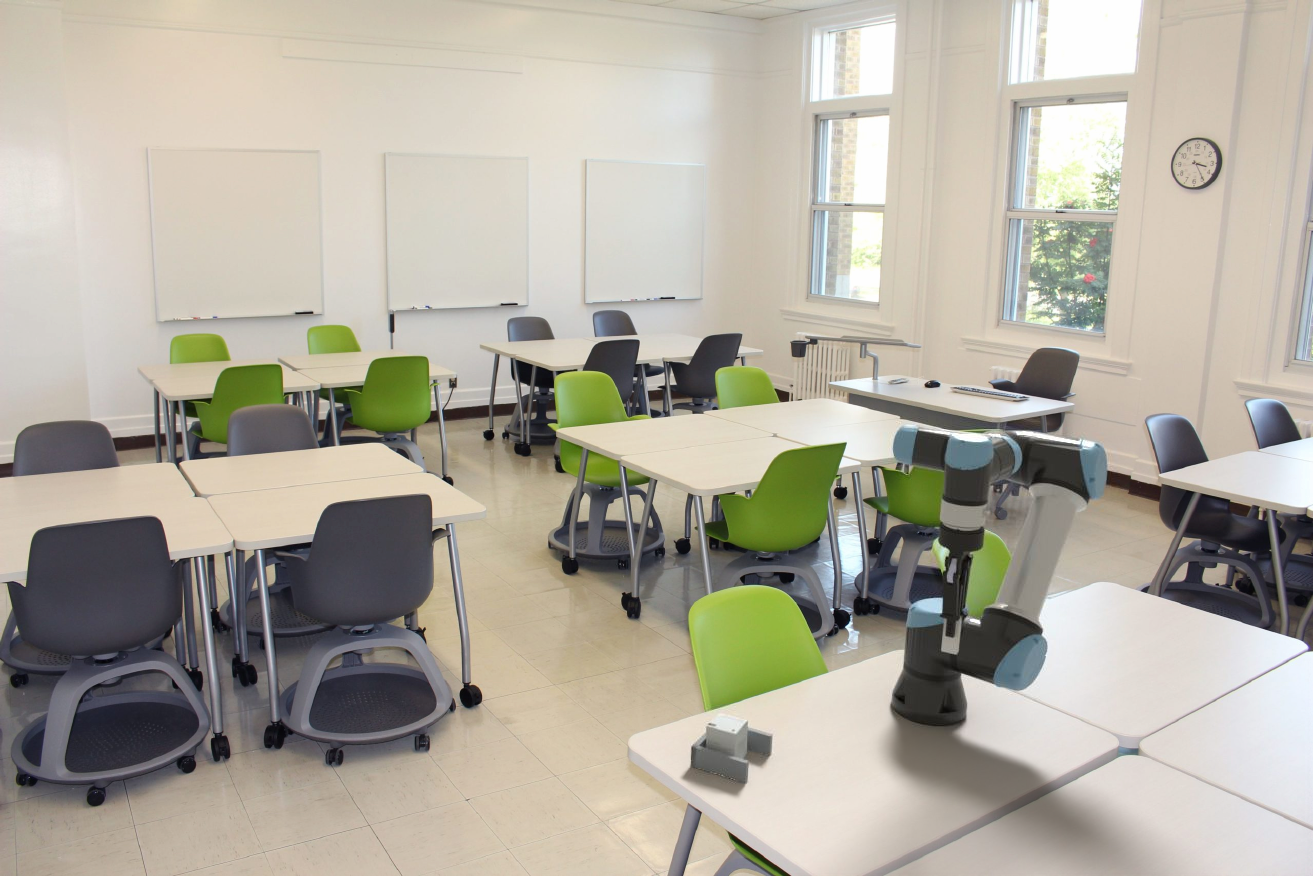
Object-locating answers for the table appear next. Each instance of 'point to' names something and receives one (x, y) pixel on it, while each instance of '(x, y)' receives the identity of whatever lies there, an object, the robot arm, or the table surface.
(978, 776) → the table surface
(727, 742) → the skincare box
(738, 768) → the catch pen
